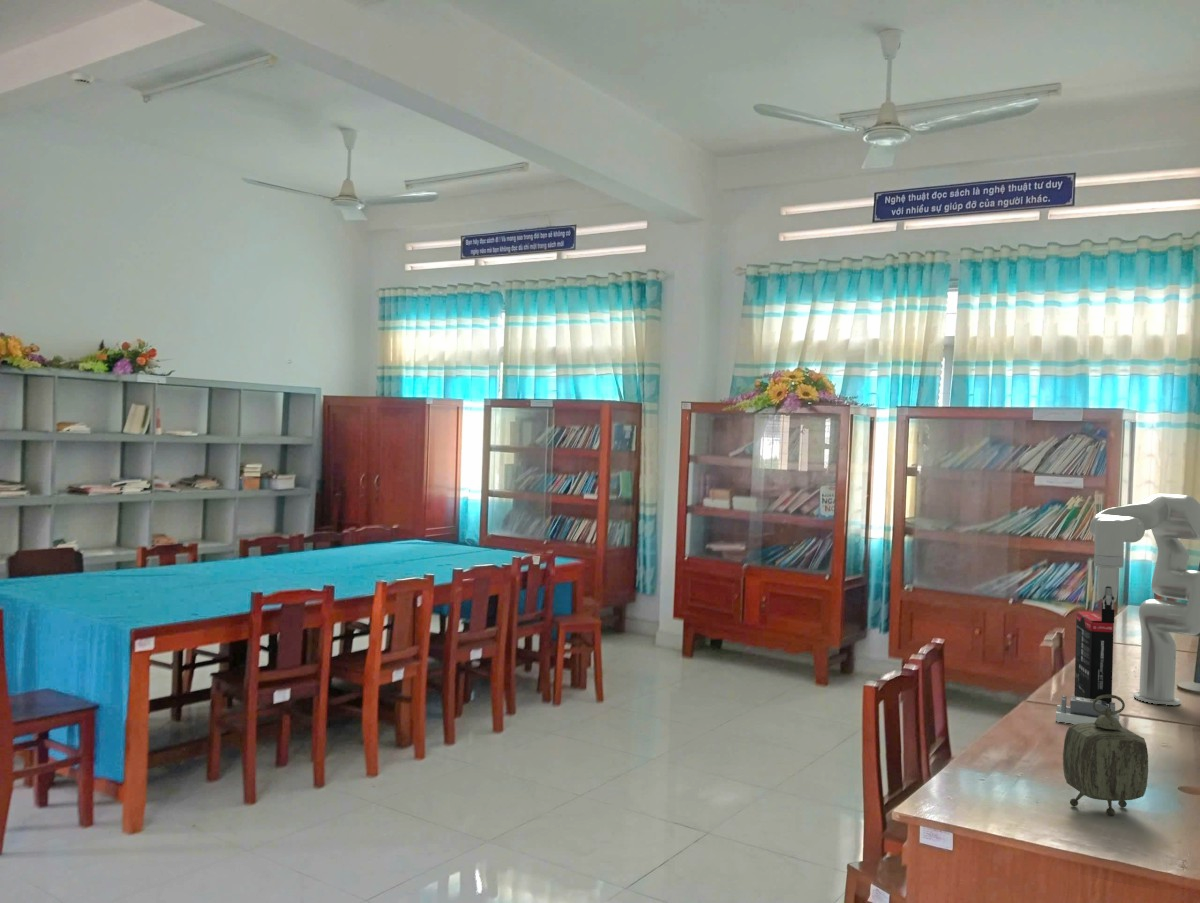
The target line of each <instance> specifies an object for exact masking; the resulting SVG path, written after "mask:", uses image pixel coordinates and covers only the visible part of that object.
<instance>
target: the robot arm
mask: <svg viewBox="0 0 1200 903" xmlns="http://www.w3.org/2000/svg"><path fill="white" fill-rule="evenodd" d="M1149 530H1151V532H1152V535H1153V538H1154V540H1155V544H1156V547H1157V557H1156V562H1155V565H1154V570H1153V575H1152V578H1151V591H1152V592H1153V593H1154V594H1156V595H1157V596H1158V597H1159V596H1160V597H1162V598H1168V599H1175V600H1182V601H1187V602H1186V603H1185V602H1180V601H1179V602H1178V601H1172V600H1166V599H1160V598H1159V599H1157V598H1150V599H1146V600H1144V601H1142V603H1141V604H1140V606H1139V610H1138V616H1139V622H1140V629H1141V630H1140V632H1141V638H1140V640H1141V643H1140V644H1141V645H1140V666H1139V667H1140V668H1139V688H1138V689H1139V690H1138V691H1135V692H1134V693H1133V698H1134V697H1135V698H1136V699H1135V698H1134V699H1135V700H1137V699H1138V701H1139V700H1141V701H1140V702H1142V701H1144V703H1146V702H1148V703H1147V704H1151V703H1153V705H1157V704H1167V705H1173V706H1178V705H1180V704H1181V700H1180V698H1178V697H1177V696H1175V693H1176V692H1175V691H1176V689H1175V688H1176V669H1177V668H1176V664H1177V644H1176V642H1175V640H1174V638H1173V637H1172V635H1171V633H1173V634H1180V635H1186V636H1197V635H1199V634H1200V570H1195V569H1188V564H1189V558H1190V556H1189V552H1188V550H1187V549H1186V547H1185V545H1184V544H1183V543H1182V542H1181V540H1192V541H1200V502H1199V501H1198V500H1197V499H1196V498H1194V497H1193V496H1191V495H1187V494H1174V493H1173V494H1172V493H1155V494H1152V495H1150V496H1148V497H1146V498H1144V499H1142V500H1140V501H1139V502H1137V503H1132V504H1126V505H1122V506H1116V507H1115V506H1114V507H1110V508H1106V509H1104V510H1101V511H1100V512H1098V513H1097V514H1095V515H1093V518H1092V519H1091V521H1090V522H1089V531H1090V534H1091V536H1092V537H1093V538H1094V555H1093V556H1094V558H1093V561H1094V562H1093V565H1094V567H1097V577H1096V578H1097V582H1096V584H1097V587H1096V591H1097V593H1096V594H1097V595H1096V597H1097V601H1098V602H1100V601H1101V600H1102V602H1101V616H1102V623H1112V624H1115V612H1116V610H1115V602H1117V598H1118V590H1119V573H1120V571H1119V570H1120V569H1122V568H1124V562H1125V561H1124V559H1125V558H1124V555H1125V554H1124V553H1125V552H1124V550H1125V543H1136V542H1139V541H1140V540H1142V538H1143V537H1144V535H1145V534H1146V533H1145V532H1146V531H1149ZM1180 539H1181V540H1180ZM1167 705H1166V706H1167Z"/></svg>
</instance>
